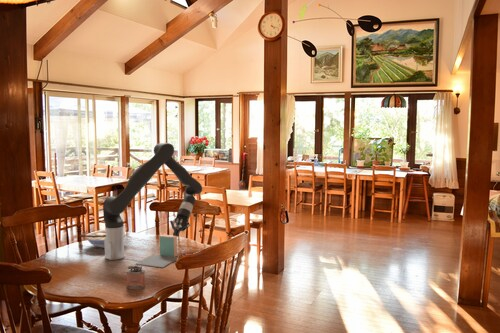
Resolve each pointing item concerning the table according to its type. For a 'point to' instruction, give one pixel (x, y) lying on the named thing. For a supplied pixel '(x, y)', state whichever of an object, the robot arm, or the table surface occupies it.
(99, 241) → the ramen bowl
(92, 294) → the table surface
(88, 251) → the table surface
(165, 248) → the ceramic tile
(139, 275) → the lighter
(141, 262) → the rubber mat
